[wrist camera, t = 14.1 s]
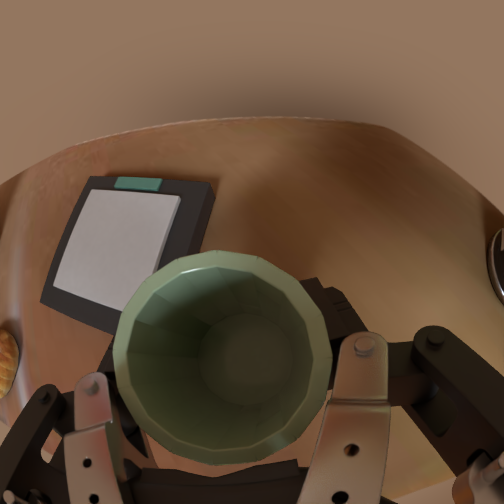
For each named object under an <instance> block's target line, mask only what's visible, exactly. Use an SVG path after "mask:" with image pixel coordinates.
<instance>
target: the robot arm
mask: <svg viewBox="0 0 504 504" xmlns="http://www.w3.org/2000/svg"><path fill="white" fill-rule="evenodd" d="M487 259H488V269H489V274H490V278H491V282H492V285H493V288H494V290H495V292H496V294H497V296H498V298H499V300H500V301H501V302H502V304H503V305H504V228H503V229H501V230H499V231H498V232H497V233H495V234H494V235H493V237H492V238H491V240H490V242H489V246H488V254H487ZM299 283H300V284H301V285H302V287H303V288H304V289H305V291H306V292H307V293H308V295H309V296H310V297H311V299H312V300H313V301H314V303H315V304H316V305H317V307H318V308H319V309H320V311H321V312H322V315H323V316H324V320H325V324H326V328H327V332H328V337H329V341H330V345H331V349H332V354H333V358H332V359H333V364H332V369H331V375H330V380H329V385H328V390H331V389H332V394H331V398H330V400H328V402H327V405H326V409H325V413H324V417H323V421H322V424H321V428H320V432H319V436H318V439H317V443H316V446H315V450H314V453H313V456H312V460H311V463H310V466H309V467H298V463H297V459H293V460H287V461H282V462H276V463H270V464H263V465H256V466H253V467H250V468H247V469H244V470H240V471H237V472H234V473H231V474H227V475H223V476H220V477H207V476H202V475H197V474H193V473H188V472H184V471H180V470H176V469H159V467H158V466H157V464H156V462H155V459H154V457H153V454H152V451H151V448H150V445H149V442H148V439H147V436H146V433H145V431H143V430H142V429H141V428H140V427H139V425H137V424H136V422H135V420H134V419H133V417H132V415H131V413H130V412H129V410H128V408H127V406H126V404H125V403H124V401H123V399H122V397H121V395H120V393H119V391H118V390H119V389H118V388H117V382H116V375H115V368H114V360H113V345H114V340H115V336H116V333H115V335H114V337H113V339H112V341H111V342H112V343H110V345H109V347H108V350H107V351H106V353H105V355H104V357H103V359H102V361H101V363H100V365H99V368H98V370H97V372H93V373H89V374H87V375H85V376H84V377H82V378H81V379H80V380H79V381H78V383H77V384H76V386H75V389H74V391H71V392H67V393H63V394H61V393H60V391H59V390H58V389H57V388H56V386H55V385H53V384H46V385H43V386H41V387H40V388H39V389H37V390H36V392H35V393H34V394H33V396H32V397H31V399H30V400H29V401H28V403H27V404H26V406H25V407H24V409H23V410H22V412H21V414H20V415H19V417H18V418H17V420H16V421H15V423H14V425H13V426H12V428H11V429H10V431H9V433H8V434H7V436H6V438H5V440H4V441H3V443H2V445H1V446H0V504H398V503H395V502H393V501H391V500H389V499H387V498H385V497H383V496H381V492H382V486H383V481H384V474H385V468H386V460H387V452H388V443H389V432H390V418H391V407H392V406H402V408H403V409H404V410H405V411H406V413H407V414H408V415H409V416H410V418H411V419H412V420H413V421H414V423H415V424H416V425H417V426H418V428H419V429H420V430H421V432H422V433H423V434H424V435H425V437H426V438H427V439H428V440H429V442H430V443H431V444H432V446H433V447H434V448H435V449H436V451H437V452H438V453H439V455H440V456H441V457H442V459H443V460H444V461H445V462H446V464H447V465H448V466H449V468H450V469H451V470H452V472H453V473H454V474H455V476H456V477H457V478H456V480H455V482H454V484H453V487H452V496H453V500H454V502H455V504H504V377H503V376H502V375H501V374H500V373H499V372H498V371H497V370H496V369H494V368H493V367H492V366H491V365H490V364H489V363H488V362H486V361H485V360H484V359H483V358H482V357H481V356H479V355H478V354H477V353H476V352H475V351H474V350H472V349H471V348H470V347H469V346H468V345H466V344H465V343H464V342H463V341H462V340H460V339H459V338H458V337H457V336H455V335H454V334H453V333H452V332H451V331H449V330H448V329H446V328H444V327H441V326H426V327H423V328H421V329H420V330H418V331H417V333H416V334H415V336H414V340H413V341H409V342H398V343H389V342H386V340H385V339H384V338H383V337H382V336H381V335H379V334H377V333H374V332H369V331H368V329H367V328H366V326H365V325H364V323H363V322H362V320H361V319H360V317H359V316H358V314H357V313H356V312H355V310H354V309H353V308H352V306H351V304H350V303H349V302H348V300H347V298H346V297H345V295H344V294H343V293H342V292H341V291H339V290H338V289H336V288H334V287H328V288H323V286H322V285H321V283H320V281H319V280H318V278H317V277H315V278H310V279H306V280H301V281H299ZM52 429H53V430H54V431H55V432H57V433H58V434H59V435H60V436H61V437H62V440H61V442H60V443H59V445H58V447H57V449H56V451H55V453H54V455H53V457H52V459H51V461H50V462H49V463H46V462H45V461H44V460H43V459H42V457H41V449H42V447H43V445H44V443H45V441H46V439H47V437H48V436H49V434H50V432H51V430H52Z"/></svg>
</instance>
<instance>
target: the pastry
mask: <svg viewBox="0 0 504 504" xmlns="http://www.w3.org/2000/svg"><path fill="white" fill-rule="evenodd" d="M18 356H19V350H18V346H17V344H16V342H15V339H14V337H13V336H12V335H11V334H10V333H8V332H7V331H5V330H3V329H2V330H0V398H2V397H4V396H6V394H7V393H8V391H10V388H11V386H12V382H13V380H14V378H15V373H16V371H17V368H18Z"/></svg>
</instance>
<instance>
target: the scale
mask: <svg viewBox="0 0 504 504" xmlns="http://www.w3.org/2000/svg"><path fill="white" fill-rule="evenodd" d="M214 200H215V196H214V193H213V190H212V187H211V184H210V183H208V182H197V181H184V180H171V179H160V178H142V177H106V176H90V177H89V179H88V181H87V183H86V185H85V187H84V189H83V191H82V193H81V195H80V197H79V199H78V201H77V203H76V205H75V207H74V209H73V212H72V214H71V216H70V218H69V220H68V223H67V225H66V227H65V230H64V232H63V235H62V237H61V240H60V242H59V245H58V247H57V250H56V253H55V255H54V258H53V261H52V264H51V267H50V270H49V273H48V276H47V279H46V282H45V285H44V288H43V292H42V295H41V299H40V303H42V304H44V305H46V306H48V307H50V308H52V309H54V310H56V311H58V312H60V313H63V314H65V315H67V316H69V317H71V318H73V319H76V320H78V321H80V322H82V323H85V324H87V325H89V326H92V327H94V328H97V329H99V330H102V331H104V332H107V333H109V334H112V335H115V333H116V332H117V328H118V324H119V320H120V316H121V313H123V309H124V308H125V306H126V305H127V303H128V302H129V301H130V299H131V298H132V296H133V295H134V293H135V292H136V291H137V289H138V288H139V286H140V285H141V284H142V282H143V281H145V279H146V278H148V277H149V276H151V275H152V274H154V273H155V272H157V271H158V270H160V269H161V268H163V267H164V266H166V265H167V264H169V263H170V262H172V261H173V260H175V259H178V258H180V257H185V256H189V255H194V254H198V253H199V250H200V246H201V243H202V239H203V236H204V233H205V229H206V226H207V223H208V220H209V216H210V213H211V210H212V207H213V203H214Z"/></svg>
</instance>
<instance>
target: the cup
mask: <svg viewBox="0 0 504 504" xmlns="http://www.w3.org/2000/svg"><path fill="white" fill-rule="evenodd" d="M332 358H333V354H332V349H331V345H330V341H329V337H328V332H327V328H326V324H325V320H324V316H323V315H322V312H321V311H320V309H319V308H318V307H317V305H316V304H315V303H314V301H313V300H312V299H311V297H310V296H309V295H308V293H307V292H306V291H305V289H304V288H303V287H302V285H301V284H300V283H299V281H298V280H295V278H294V277H293V276H291V275H290V274H288V273H286V272H285V271H283V270H281V269H280V268H278V267H276V266H275V265H273V264H271V263H270V262H268V261H266V260H265V259H263V258H261V257H258V256H255V255H248V254H242V253H236V252H230V251H224V250H218V251H217V250H212V251H208V252H203V253H198V254H194V255H189V256H185V257H180V258H178V259H175V260H173V261H172V262H170V263H169V264H167V265H166V266H164V267H163V268H161V269H160V270H158V271H157V272H155V273H154V274H152V275H151V276H149V277H148V278H146V279H145V281H143V282H142V284H141V285H140V286H139V288H138V289H137V291H136V292H135V293H134V295H133V296H132V298H131V299H130V301H129V302H128V303H127V305H126V306H125V308H124V309H123V313H121V316H120V320H119V324H118V328H117V332H116V336H115V340H114V345H113V360H114V368H115V375H116V382H117V388H118V389H119V390H118V391H119V393H120V395H121V397H122V399H123V401H124V403H125V404H126V406H127V408H128V410H129V412H130V413H131V415H132V417H133V419H134V420H135V422H136V424H137V425H139V427H140V428H141V429H142V430H143V431H145V432H146V433H147V434H148V435H149V436H150V437H152V438H153V439H154V440H155V441H157V442H158V443H159V444H160V445H162V446H163V447H164V448H165V449H167V450H168V451H169V452H172V453H173V454H176V455H179V456H182V457H185V458H188V459H191V460H194V461H198V462H201V463H205V464H208V465H215V466H219V465H232V464H242V463H250V462H257V461H260V460H262V459H264V458H266V457H268V456H270V455H272V454H274V453H275V452H277V451H279V450H281V449H282V448H284V447H286V446H288V445H289V444H291V443H293V442H294V441H296V440H297V438H299V437H300V436H301V435H302V433H303V432H304V431H305V430H306V428H307V427H308V425H309V424H310V423H311V421H312V420H313V419H314V417H315V416H316V414H317V413H318V412H319V410H320V409H321V407H322V406H323V404H324V401H325V399H326V395H327V390H328V385H329V380H330V375H331V369H332V364H333V359H332Z"/></svg>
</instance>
